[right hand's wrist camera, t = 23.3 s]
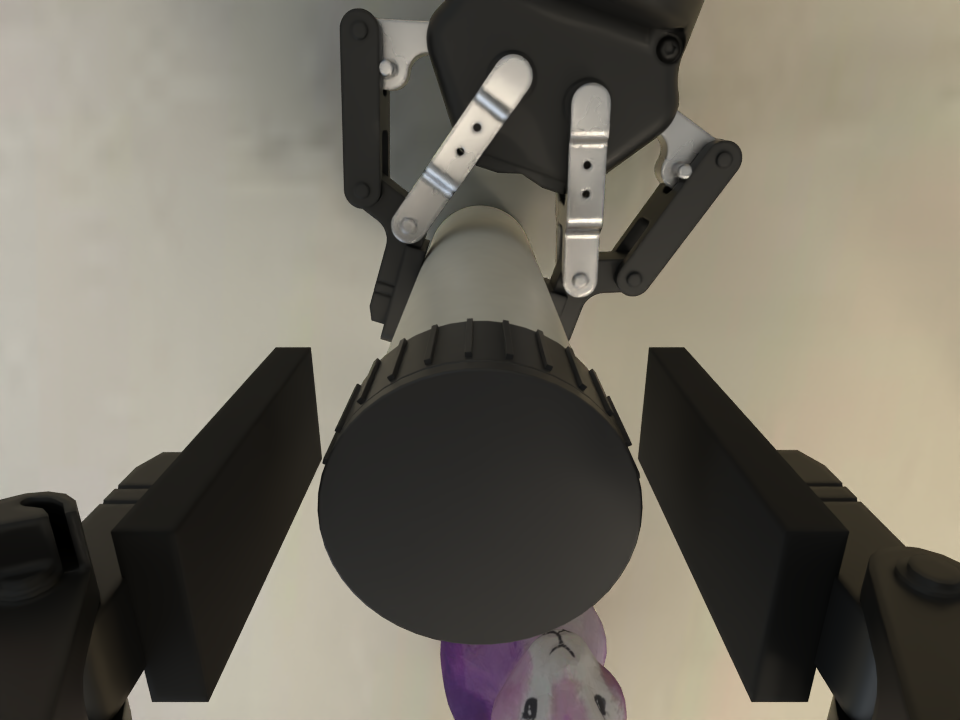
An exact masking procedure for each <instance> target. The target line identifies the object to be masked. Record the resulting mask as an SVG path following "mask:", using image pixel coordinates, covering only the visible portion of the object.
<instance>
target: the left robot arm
mask: <svg viewBox="0 0 960 720" xmlns="http://www.w3.org/2000/svg"><path fill="white" fill-rule="evenodd" d="M703 3H704V0H445V1H444V2H443V3H442V4H441V5H440V7H439V8H438V9H437V10H436V11H435V12H434V14H433V15H432V17H431V19H430V21H415V20H397V19H379V18H376V17H374V16H373V15H372V14H371V13H370V12H368V11H367V10H364V9H360V8H357V9H352V10H350V11H348V12H347V13H346V14H345V15H344V16H343V18H342V20H341V23H340V55H341V93H342V130H343V168H344V193H345V196H346V198H347V200H348V201H349V203H350V204H352V205H353V206H355V207H357V208H360V209H363V210H365V211H366V212H367V213H369V214H370V215H371V216H373V217H374V218H375V219H377V220H378V221H379V222H380V223H381V224H382V226H383V227H384V229H385V231H386V235H387V244H386V248H385V251H384V255H383V259H382V263H381V266H380V270H379V274H378V277H377V281H376V285H375V288H374V292H373V296H372V299H371V303H370V312H371V320H372V321H376V322H379V323H382V324H384V327H383V330H382V334H381V339H382V340H386V341H389V342H392V339H393V337H394V334H395V332H396V329H397V327H398V324H399V322H400V319H401V317H402V314H403V312H404V309H405V307H406V304H407V302H408V299H409V297H410V294H411V292H412V289H413V287H414V284H415V282H416V279H417V277H418V274H419V272H420V269H421V267H422V264H423V262H424V259H425V256H426V253H427V249H428V246H429V243H430V240H427V239H425V238H426V235H427V231H428V229H429V228H430V226H431V225H432V223H433V222H434V221H435V219H436V218H437V216H438V215H439V214H440V212H441V211H442V209H443V208H444V207H445V205H446V204H447V202H448V201H449V199H450V198H451V197H452V195H453V194H454V193H455V192H456V190H457V189H458V187H459V186H460V185H461V183H462V182H463V180H464V179H465V178H466V176H467V175H468V173H469V172H470V171H471V169H472V168H473V166H474V165H475V163H476V166H479V167H482V168H485V169H488V170H491V171H494V172H497V173H517V174H523V175H524V176H526V177H527V178H529V179H530V180H532V181H533V182H535V183H536V184H538V185H539V186H541V187H542V188H545V189H548V190H551V191H554V192H556V203H555V213H556V260H555V269H554V271H553V274H552V277H551V280H550V279H547V278H544V281H545V283H546V286H547V288H548V291H549V294H550V296H551V299H552V301H553V304H554V306H555V309H556V311H557V314H558V316H559V319H560V321H561V324H562V326H563V329H564V331H565V334H566V336H567V339H568V341H569V340H570V338H571V335H572V333H573V330H574V328H575V325H576V322H577V320H578V317H579V315H580V312H581V310H582V307H583V305H584V304H585V302H586V301H587V300H588V299H589V298H590V297H592V296H593V295H596V294H599V293H614V292H622V293H623V294H625V295H628V296H638V295H641V294H642V293H644V292H645V291H646V290H647V289H648V288H649V286H650V285H651V284H652V282H653V281H654V280H655V278H656V277H657V276H658V274H659V273H660V272H661V271H662V269H663V268H664V267H665V265H666V264H667V263H668V261H669V260H670V259H671V257H672V256H673V255H674V253H675V252H676V251H677V249H678V248H679V247H680V246H681V244H682V243H683V242H684V240H685V239H686V238H687V236H688V235H689V234H690V232H691V231H692V230H693V228H694V227H695V226H696V224H697V223H698V222H699V221H700V219H701V218H702V217H703V215H704V214H705V213H706V211H707V210H708V209H709V207H710V206H711V205H712V203H713V202H714V201H715V199H716V198H717V197H718V195H719V194H720V193H721V192H722V190H723V189H724V188H725V186H726V185H727V184H728V182H729V181H730V180H731V178H732V177H733V176H734V174H735V173H736V172H737V170H738V169H739V167H740V165H741V162H742V152H741V150H740V148H739V146H738V145H737V144H735V143H734V142H732V141H725V140H722V139H716V138H714V137H712V136H711V135H710V134H708V133H707V132H706V131H704V130H703V129H702V128H700V127H699V126H698V125H696V124H695V123H694V122H692V121H691V120H690V119H688V118H687V117H686V116H684V115H683V114H682V113H680V112H679V111H678V105H679V93H678V70H679V65H680V61H681V58H682V55H683V53H684V50H685V48H686V46H687V43H688V41H689V38H690V36H691V33H692V30H693V28H694V25H695V23H696V20H697V18H698V15H699V13H700V10H701V8H702V5H703ZM428 55H429V56H430V59H431V62H432V65H433V68H434V72H435V75H436V78H437V81H438V84H439V87H440V90H441V93H442V96H443V100H444V103H445V106H446V109H447V112H448V115H449V118H450V121H451V124H452V128H453V129H452V130H451V132H450V133H449V135H448V136H447V138H446V139H445V140H444V142H443V143H442V145H441V146H440V148H439V149H438V151H437V152H436V154H435V155H434V157H433V158H432V160H431V161H430V162H429V164H428V165H427V167H426V168H425V170H424V172H423V173H422V175H421V176H420V178H419V179H418V181H417V182H416V184H415V185H414V187H413V188H412V190H411V191H410V192H409V193H408V192H407V191H406V190H404V189H403V188H402V187H401V186H399V185H398V184H397V183H395V182H394V181H393V180H392V179H390V91H397V90H400V89H402V88H403V87H405V86H406V84H407V83H408V81H409V79H410V74H411V69H412V66H413V64H414V63H415V62H416V61H417V60H418V59H419V58H421V57H423V56H428ZM656 137H657V138H658V140H659V142H660V146H661V151H660V155H659V158H658V160H657V162H656V164H655V176H656V178H657V180H658V181H659V182H660V185H659V186H658V187H657V189H656V190H655V191H654V193H653V194H652V196H651V197H650V198H649V200H648V201H647V203H646V204H645V205H644V207H643V208H642V209H641V211H640V212H639V214H638V215H637V216H636V218H635V219H634V221H633V222H632V223H631V225H630V226H629V227H628V229H627V230H626V232H625V233H624V234H623V236H622V237H621V238H620V240H619V241H618V243H617V244H616V245H615V247H614V248H613V250H612V251H611V252H599V238H600V231H601V229H602V225H603V215H604V195H605V176H606V174H607V173H608V172H609V171H611V170H612V169H614V168H615V167H616V166H618V165H619V164H620V163H622V162H623V161H625V160H626V159H627V158H629V157H630V156H631V155H633V154H634V153H636V152H637V151H638V150H640V149H641V148H643V147H644V146H645V145H647V144H648V143H649V142H651V141H652V140H654V139H655V138H656ZM460 148H461V149H462V151H461V150H460Z"/></svg>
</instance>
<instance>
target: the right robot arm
mask: <svg viewBox="0 0 960 720" xmlns="http://www.w3.org/2000/svg"><path fill="white" fill-rule="evenodd" d="M321 460H322V454H321V444H320V434H319V424H318V414H317V404H316V394H315V384H314V374H313V364H312V354H311V347H276V348H275V349H274V350H273V351H272V352H271V353H270V354H269V356H268V357H267V358H266V359H265V360H264V361H263V362H262V363H261V364H260V366H259V367H258V368H257V369H256V370H255V371H254V372H253V373H252V374H251V376H250V377H249V378H248V379H247V380H246V381H245V382H244V383H243V384H242V386H241V387H240V388H239V389H238V390H237V391H236V392H235V393H234V395H233V396H232V397H231V398H230V399H229V400H228V401H227V402H226V403H225V405H224V406H223V407H222V408H221V409H220V410H219V411H218V412H217V413H216V415H215V416H214V417H213V418H212V419H211V420H210V421H209V422H208V423H207V425H206V426H205V427H204V428H203V429H202V430H201V431H200V432H199V433H198V435H197V436H196V437H195V438H194V439H193V440H192V441H191V442H190V444H189V445H188V446H187V447H186V448H185V449H184V450H183V451H182V452H163V453H161V454H159V455H157V456H155V457H154V458H152V459H150V460H148V461H147V462H145V463H143V464H141V465H140V466H138V467H136V468H135V469H134V470H133V471H132V472H131V473H130V474H129V475H128V476H127V477H126V478H125V479H124V480H123V481H122V482H121V483H120V484H119V485H118V489H114V490H113V491H112V492H111V493H110V494H109V495H108V496H107V497H106V498H105V499H104V503H103V504H99V505H98V506H97V507H96V508H95V509H94V510H93V511H92V512H91V513H90V514H89V515H88V516H87V517H86V518H85V519H84V520H83V522H82V523H81V519H80V515H79V511H78V508H77V504H76V500H74V499H73V498H71V497H70V496H68V495H67V494H63V493H55V492H37V493H26V494H22V495H18V496H13V497H9V498H5V499H1V500H0V720H132V716H131V710H130V706H129V702H128V699H127V697H128V695H129V694H130V692H131V690H132V689H133V687H134V685H135V684H136V682H137V681H138V679H139V677H140V676H141V674H142V672H143V671H145V675H146V679H147V683H148V687H149V691H150V695H151V699H152V702H209V700H210V697H211V695H212V693H213V691H214V689H215V687H216V685H217V682H218V680H219V678H220V676H221V674H222V672H223V670H224V667H225V665H226V663H227V661H228V659H229V657H230V655H231V652H232V650H233V648H234V646H235V644H236V642H237V640H238V637H239V635H240V633H241V631H242V629H243V627H244V625H245V622H246V620H247V618H248V616H249V614H250V612H251V610H252V607H253V605H254V603H255V601H256V599H257V597H258V595H259V592H260V590H261V588H262V586H263V584H264V582H265V580H266V577H267V575H268V573H269V571H270V569H271V567H272V565H273V562H274V560H275V558H276V556H277V554H278V552H279V550H280V547H281V545H282V543H283V541H284V539H285V537H286V535H287V532H288V530H289V528H290V526H291V524H292V522H293V520H294V517H295V515H296V513H297V511H298V509H299V507H300V505H301V502H302V500H303V498H304V496H305V494H306V492H307V490H308V487H309V485H310V483H311V481H312V479H313V477H314V475H315V472H316V470H317V468H318V466H319V464H320V462H321ZM638 460H639V462H640V464H641V466H642V468H643V470H644V472H645V475H646V477H647V479H648V481H649V483H650V485H651V487H652V490H653V492H654V494H655V496H656V498H657V500H658V502H659V505H660V507H661V509H662V511H663V513H664V515H665V517H666V520H667V522H668V524H669V526H670V528H671V530H672V532H673V535H674V537H675V539H676V541H677V543H678V545H679V547H680V550H681V552H682V554H683V556H684V558H685V560H686V562H687V565H688V567H689V569H690V571H691V573H692V575H693V577H694V580H695V582H696V584H697V586H698V588H699V590H700V592H701V595H702V597H703V599H704V601H705V603H706V605H707V607H708V610H709V612H710V614H711V616H712V618H713V620H714V622H715V625H716V627H717V629H718V631H719V633H720V635H721V637H722V640H723V642H724V644H725V646H726V648H727V650H728V652H729V655H730V657H731V659H732V661H733V663H734V665H735V667H736V670H737V672H738V674H739V676H740V678H741V680H742V682H743V685H744V687H745V689H746V691H747V693H748V695H749V697H750V700H751V702H808V699H809V695H810V691H811V687H812V683H813V679H814V675H815V671H816V667H817V669H818V671H819V672H820V674H821V676H822V677H823V679H824V680H825V682H826V684H827V685H828V687H829V689H830V690H831V692H832V693H833V699H832V702H831V706H830V710H829V714H828V718H827V720H960V563H959V562H957V561H955V560H953V559H951V558H949V557H946V556H944V555H942V554H938V553H935V552H931V551H928V550H924V549H921V548H915V547H906V546H905V545H904V544H903V543H902V542H901V541H900V540H899V539H898V538H897V537H896V536H895V535H894V534H893V533H892V532H891V531H890V530H889V529H888V528H887V527H886V526H885V525H884V524H883V523H882V522H881V521H880V520H879V519H878V518H877V517H876V516H875V515H874V514H873V513H872V512H871V511H870V510H869V509H868V508H867V507H866V506H865V505H864V504H863V503H862V502H857V497H856V496H855V495H854V494H853V493H852V492H851V491H850V490H849V489H848V488H847V487H843V486H842V482H841V481H840V480H839V479H838V478H837V477H836V476H835V475H834V474H833V473H832V472H831V471H830V470H829V469H828V468H827V467H826V466H825V465H823V464H821V463H819V462H818V461H816V460H814V459H812V458H811V457H809V456H807V455H805V454H803V453H802V452H800V451H798V450H776V449H775V448H774V447H773V446H772V445H771V444H770V442H769V441H768V440H767V439H766V438H765V437H764V436H763V435H762V433H761V432H760V431H759V430H758V429H757V428H756V427H755V426H754V425H753V423H752V422H751V421H750V420H749V419H748V418H747V417H746V416H745V415H744V413H743V412H742V411H741V410H740V409H739V408H738V407H737V406H736V405H735V403H734V402H733V401H732V400H731V399H730V398H729V397H728V396H727V395H726V393H725V392H724V391H723V390H722V389H721V388H720V387H719V386H718V384H717V383H716V382H715V381H714V380H713V379H712V378H711V377H710V376H709V374H708V373H707V372H706V371H705V370H704V369H703V368H702V367H701V366H700V364H699V363H698V362H697V361H696V360H695V359H694V358H693V357H692V356H691V354H690V353H689V352H688V351H687V350H686V349H685V348H684V347H649V354H648V364H647V374H646V384H645V394H644V404H643V414H642V424H641V434H640V444H639V454H638Z"/></svg>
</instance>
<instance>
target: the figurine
mask: <svg viewBox="0 0 960 720" xmlns="http://www.w3.org/2000/svg"><path fill="white" fill-rule="evenodd" d="M606 654H607V651H606V637H605V633H604V629H603V625H602V622H601V620H600V619H599V617H598V615H597V613H596V611H595V610H594V608H593V606H592V607H591V608H589V609H588V610H587V611H585V612H584V613H583V614H582V615H580V616H578V617H577V618H575V619H573V620H572V621H570V622H568V623H567V624H565V625H563V626H560V627H558V628H556V629H554V630H552V631H549V632H547V633H544V634H541V635H538V636H535V637H532V638H529V639H524V640H519V641H515V642H510V643H501V644H492V645H470V644H459V643H451V642H446V641H441V652H440V655H441V667H442V675H443V682H444V688H445V693H446V697H447V701H448V705H449V707H450V710H451V712H452V715H453V717H454V719H455V720H627V713H626V704H625V698H624V695H623V692H622V689H621V687H620V685H619V684H618V682H617V681H616V679H615V678H614V676H613V675H612V674H611V673H610V672H609V671H608V670H607V669H606V668H605V667H604V662H605V659H606Z"/></svg>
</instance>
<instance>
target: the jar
mask: <svg viewBox="0 0 960 720" xmlns="http://www.w3.org/2000/svg"><path fill="white" fill-rule="evenodd" d="M468 318H473V321H494V322H503V320H508V321H509V324H513V325H517V326H521V327H525V328H528V329H530V330H533V331H535V332H536V331H537V329H539V330H541V331H543V334H544V335H545V336H547V337H548V338H550V339H552V340H554V341H556V342H558V343H559V344H560V345H562V346H563V347H564V348H567V346H569V347H570V348H571V346H570V344H569V341H568V339H567V336H566V334H565V331H564V329H563V326H562V324H561V321H560V319H559V316H558V314H557V311H556V309H555V306H554V304H553V301H552V299H551V296H550V294H549V291H548V288H547V286H546V283H545V281H544V278H543V276H542V273H541V271H540V268H539V266H538V263H537V261H536V258H535V256H534V253H533V251H532V248H531V246H530V243H529V241H528V238H527V236H526V234H525V232H524V230H523V229H522V227H521V225H520V224H519V223H518V222H517V221H516V220H515V219H514V218H513V217H512V216H510V215H509V214H507V213H506V212H504V211H502V210H500V209H497V208H494V207H490V206H481V205H479V206H470V207H466V208H463V209H460V210H458V211H456V212H454V213H453V214H451V215H450V216H449V217H447V218H446V219H445V220H444V221H443V222H442V224H441V225H440V226H439V227H438V229H437V231H436V232H435V235H434V237H433V239H432V242H431V244H430V247H429V249H428V252H427V254H426V257H425V259H424V262H423V264H422V267H421V269H420V272H419V274H418V277H417V279H416V282H415V284H414V287H413V289H412V292H411V294H410V297H409V299H408V302H407V304H406V307H405V309H404V312H403V314H402V317H401V319H400V322H399V324H398V327H397V329H396V332H395V334H394V337H393V339H392V342H391V344H390V347H389V349H388V352H387V354H388V353H389V352H390V351H392V350H393V349H394V348H396V347H397V346H398V345H399V342H400V340H402V339H403V338H405V339H406V340H408V339H410V338H412V337H413V336H415V335H417V334H420V333H422V332H425V331H427V330H430V329H431V327H432V326H433V325H436V324H437V325H438V327H439V326H443V325H447V324H450V323H458V322H465V321H467V319H468ZM387 354H386V355H387Z"/></svg>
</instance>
